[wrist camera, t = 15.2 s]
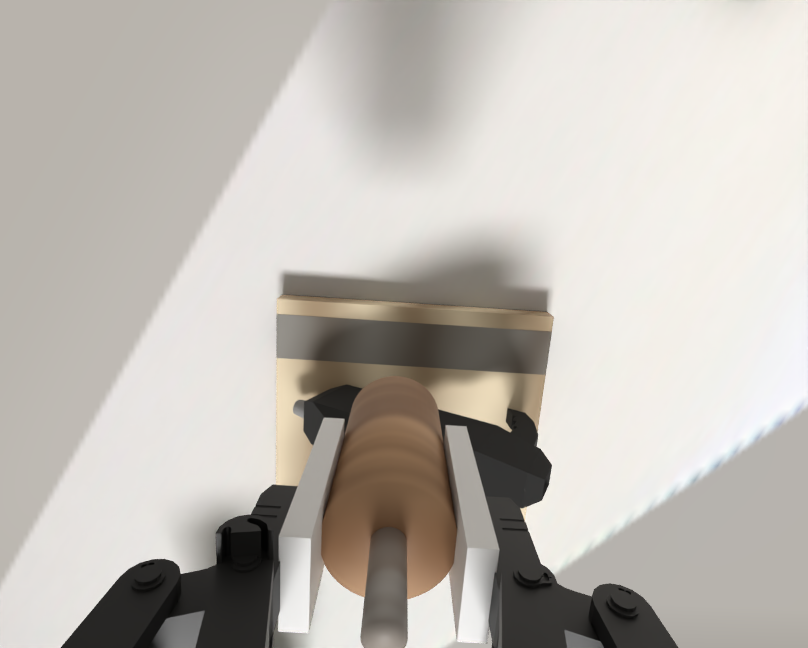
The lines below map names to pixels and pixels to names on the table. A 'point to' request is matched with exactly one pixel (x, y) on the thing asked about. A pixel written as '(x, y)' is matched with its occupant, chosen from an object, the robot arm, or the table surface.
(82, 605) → the table surface
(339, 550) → the awl
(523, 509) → the board
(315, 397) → the gun
